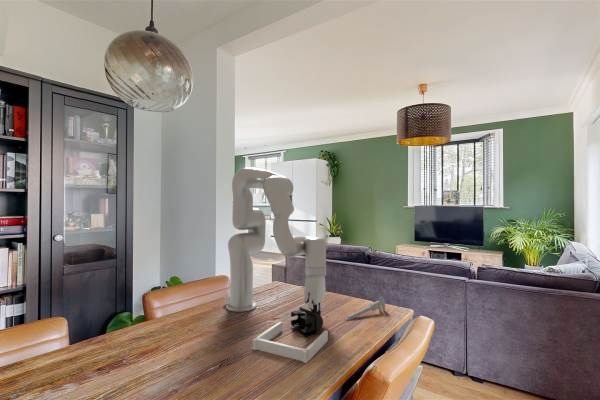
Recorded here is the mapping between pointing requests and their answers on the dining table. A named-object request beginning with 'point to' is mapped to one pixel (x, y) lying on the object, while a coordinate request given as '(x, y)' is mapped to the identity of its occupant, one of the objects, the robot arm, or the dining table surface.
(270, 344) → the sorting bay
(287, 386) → the dining table surface
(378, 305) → the caliper
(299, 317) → the end cap
